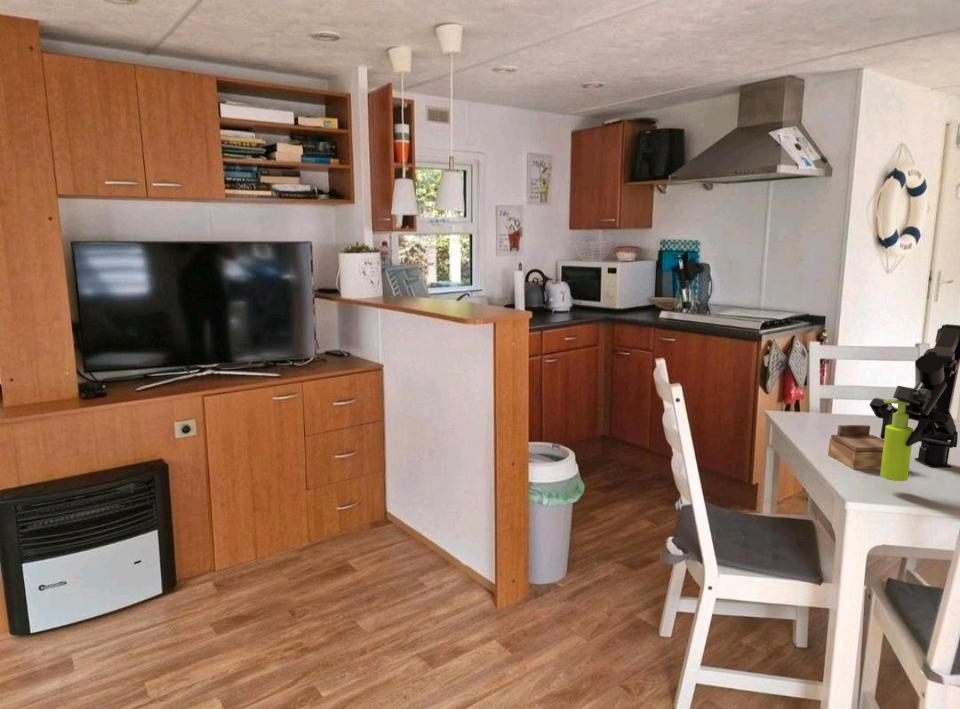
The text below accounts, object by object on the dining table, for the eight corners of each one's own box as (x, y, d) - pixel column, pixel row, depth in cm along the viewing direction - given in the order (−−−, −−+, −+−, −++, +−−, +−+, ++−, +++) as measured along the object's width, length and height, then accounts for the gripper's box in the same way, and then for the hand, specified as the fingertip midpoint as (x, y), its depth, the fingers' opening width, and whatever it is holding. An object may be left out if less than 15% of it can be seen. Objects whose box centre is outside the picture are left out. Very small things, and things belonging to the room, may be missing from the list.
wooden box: (869, 454, 192) (871, 438, 191) (897, 468, 181) (900, 452, 180) (827, 454, 192) (829, 438, 191) (853, 469, 180) (855, 452, 179)
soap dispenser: (874, 471, 168) (882, 396, 165) (906, 475, 165) (915, 399, 161) (876, 478, 163) (884, 401, 159) (908, 482, 160) (918, 404, 156)
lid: (871, 437, 191) (873, 424, 190) (899, 450, 180) (900, 437, 179) (831, 438, 190) (832, 425, 190) (855, 450, 179) (857, 437, 178)
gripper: (878, 367, 169) (846, 413, 166) (956, 382, 152) (923, 433, 149) (892, 393, 174) (862, 438, 171) (969, 410, 157) (937, 460, 154)
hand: (894, 441), depth 161 cm, fingers closed on soap dispenser, 6 cm apart
